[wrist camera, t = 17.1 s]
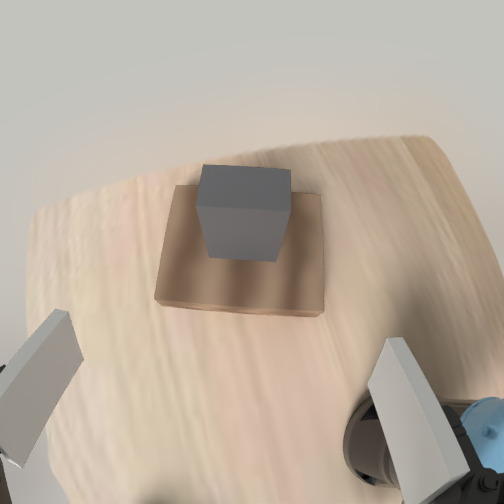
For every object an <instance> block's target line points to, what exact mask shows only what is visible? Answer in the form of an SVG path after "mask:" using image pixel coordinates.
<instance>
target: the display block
mask: <svg viewBox="0 0 504 504" xmlns="http://www.w3.org/2000/svg"><path fill="white" fill-rule="evenodd" d="M198 190H199V186H185V185H176V187H175V191H174V195H173V200H172V204H171V209H170V213H169V218H168V223H167V228H166V233H165V238H164V243H163V249H162V254H161V260H160V265H159V271H158V277H157V284H156V290H155V297H154V299H155V300H156V301H157V302H158V303H160V304H161V305H162V306H167V307H176V308H186V309H196V310H207V311H219V312H231V313H245V314H260V315H278V316H299V317H317V316H318V315H320V314H321V313H322V312H324V259H323V232H322V212H321V196H320V195H317V194H307V193H296V192H291V213H290V217H289V220H288V223H287V227H286V230H285V233H284V237H283V240H282V243H281V246H280V250H279V253H278V256H277V260H276V262H266V261H251V260H236V259H221V258H209V255H208V251H207V248H206V244H205V240H204V236H203V233H202V229H201V225H200V221H199V217H198V213H197V209H196V201H197V195H198Z"/></svg>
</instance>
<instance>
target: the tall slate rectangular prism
mask: <svg viewBox="0 0 504 504" xmlns="http://www.w3.org/2000/svg"><path fill="white" fill-rule="evenodd" d="M196 209H197V213H198V217H199V221H200V225H201V229H202V233H203V236H204V240H205V244H206V248H207V251H208V255H209V258H221V259H236V260H251V261H266V262H276V260H277V256H278V253H279V250H280V246H281V243H282V240H283V237H284V233H285V230H286V227H287V223H288V220H289V217H290V213H291V176H290V170H286V169H274V168H261V167H246V166H228V165H203V168H202V174H201V179H200V184H199V190H198V195H197V201H196Z"/></svg>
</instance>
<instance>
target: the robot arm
mask: <svg viewBox="0 0 504 504" xmlns="http://www.w3.org/2000/svg"><path fill="white" fill-rule="evenodd" d="M83 360H84V359H83V356H82V353H81V350H80V347H79V344H78V341H77V338H76V335H75V332H74V329H73V325H72V322H71V319H70V315H69V312H68V311H63V310H58V309H55V310H54V311H53V312H52V313H51V314H50V315H49V316H48V318H47V319H46V320H45V321H44V322H43V323H42V324H41V325H40V326H39V328H38V329H37V330H36V331H35V332H34V333H33V334H32V335H31V337H30V338H29V339H28V340H27V341H26V342H25V344H24V345H23V346H22V347H21V348H20V350H19V351H18V352H17V353H16V354H15V356H14V357H13V358H12V359H11V360H10V362H9V363H8V364H7V365H3V366H1V367H0V453H2V454H3V455H4V456H5V457H6V458H7V459H8V460H9V461H10V462H12V463H14V464H15V465H17V466H18V467H20V468H23V467H24V465H25V463H26V461H27V459H28V457H29V455H30V453H31V451H32V449H33V447H34V445H35V443H36V441H37V439H38V437H39V435H40V434H41V432H42V430H43V428H44V426H45V424H46V422H47V421H48V419H49V417H50V415H51V413H52V412H53V410H54V408H55V406H56V405H57V403H58V401H59V399H60V398H61V396H62V394H63V393H64V391H65V389H66V388H67V386H68V384H69V383H70V381H71V379H72V378H73V376H74V374H75V373H76V371H77V370H78V368H79V366H80V365H81V363H82V362H83ZM367 385H368V388H369V391H370V393H371V396H369V397H368V398H367V399H366V400H365V401H364V402H363V403H362V404H361V405H360V406H359V407H358V409H357V410H356V411H355V413H354V414H353V416H352V418H351V419H350V421H349V424H348V426H347V429H346V432H345V436H344V442H343V452H344V458H345V461H346V464H347V466H348V467H349V469H350V470H351V472H352V473H353V474H354V475H356V476H357V477H358V478H359V479H361V480H362V481H363V482H365V483H367V484H370V485H373V486H377V487H394V488H398V489H400V490H401V492H402V496H403V500H402V504H504V399H500V398H498V397H487V398H482V399H480V400H461V399H441V398H440V397H438V396H437V395H435V394H434V392H433V391H432V389H431V387H430V385H429V383H428V381H427V379H426V377H425V376H424V374H423V372H422V370H421V368H420V367H419V365H418V363H417V361H416V359H415V358H414V356H413V354H412V352H411V351H410V349H409V347H408V346H407V344H406V342H405V340H404V339H403V337H392V338H387V339H386V341H385V344H384V346H383V349H382V351H381V354H380V356H379V358H378V361H377V363H376V366H375V368H374V370H373V372H372V375H371V377H370V379H369V381H368V384H367ZM0 504H12V501H11V498H10V494H9V491H8V487H7V482H6V478H5V473H4V470H3V465H2V461H1V458H0Z"/></svg>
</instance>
